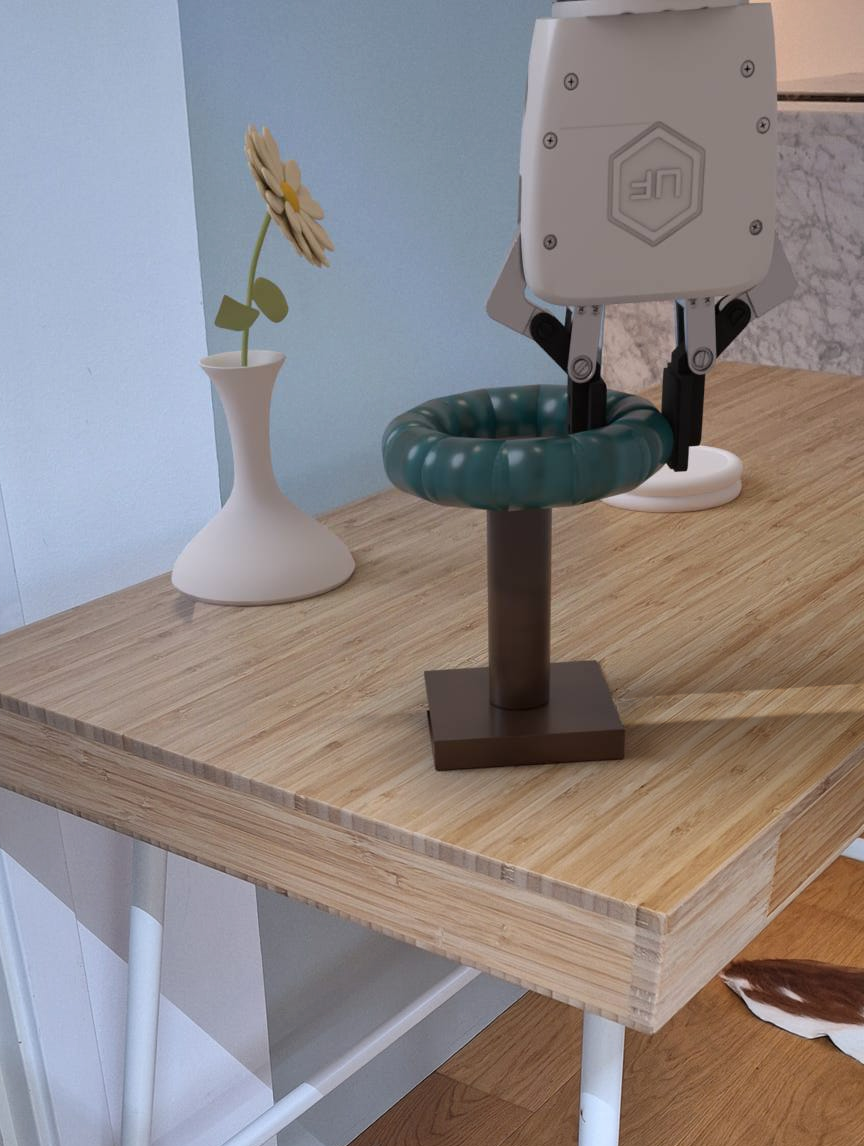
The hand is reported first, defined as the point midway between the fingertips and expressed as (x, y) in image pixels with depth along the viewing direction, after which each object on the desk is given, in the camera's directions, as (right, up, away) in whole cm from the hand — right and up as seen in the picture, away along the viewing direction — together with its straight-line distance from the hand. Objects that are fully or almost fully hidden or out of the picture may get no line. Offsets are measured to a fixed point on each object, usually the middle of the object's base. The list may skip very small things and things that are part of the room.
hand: (632, 463), depth 66 cm
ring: (-5, +1, -1) cm, 5 cm away
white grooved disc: (+8, +10, +36) cm, 38 cm away
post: (-4, -10, +7) cm, 13 cm away
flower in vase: (-18, +2, +26) cm, 32 cm away
